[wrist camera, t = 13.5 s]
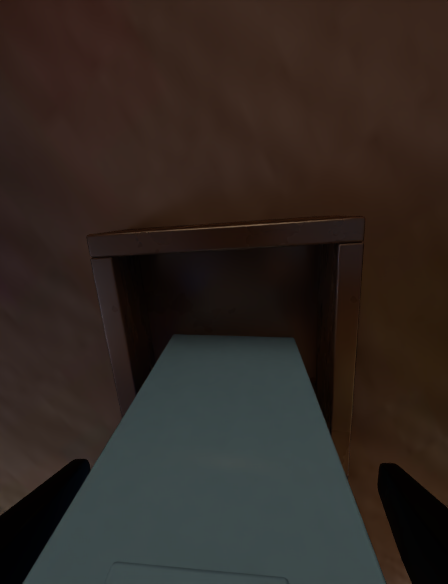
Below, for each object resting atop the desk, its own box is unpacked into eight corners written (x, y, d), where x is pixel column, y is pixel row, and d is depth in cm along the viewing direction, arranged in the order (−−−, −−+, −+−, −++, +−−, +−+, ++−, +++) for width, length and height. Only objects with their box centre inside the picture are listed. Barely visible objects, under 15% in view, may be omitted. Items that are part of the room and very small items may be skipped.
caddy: (325, 487, 15) (343, 550, 13) (164, 483, 16) (146, 542, 13) (336, 215, 11) (366, 216, 9) (122, 229, 12) (85, 235, 9)
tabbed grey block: (295, 318, 12) (467, 690, 3) (282, 503, 15) (343, 989, 6) (171, 315, 13) (-58, 628, 3) (182, 495, 16) (83, 936, 6)
